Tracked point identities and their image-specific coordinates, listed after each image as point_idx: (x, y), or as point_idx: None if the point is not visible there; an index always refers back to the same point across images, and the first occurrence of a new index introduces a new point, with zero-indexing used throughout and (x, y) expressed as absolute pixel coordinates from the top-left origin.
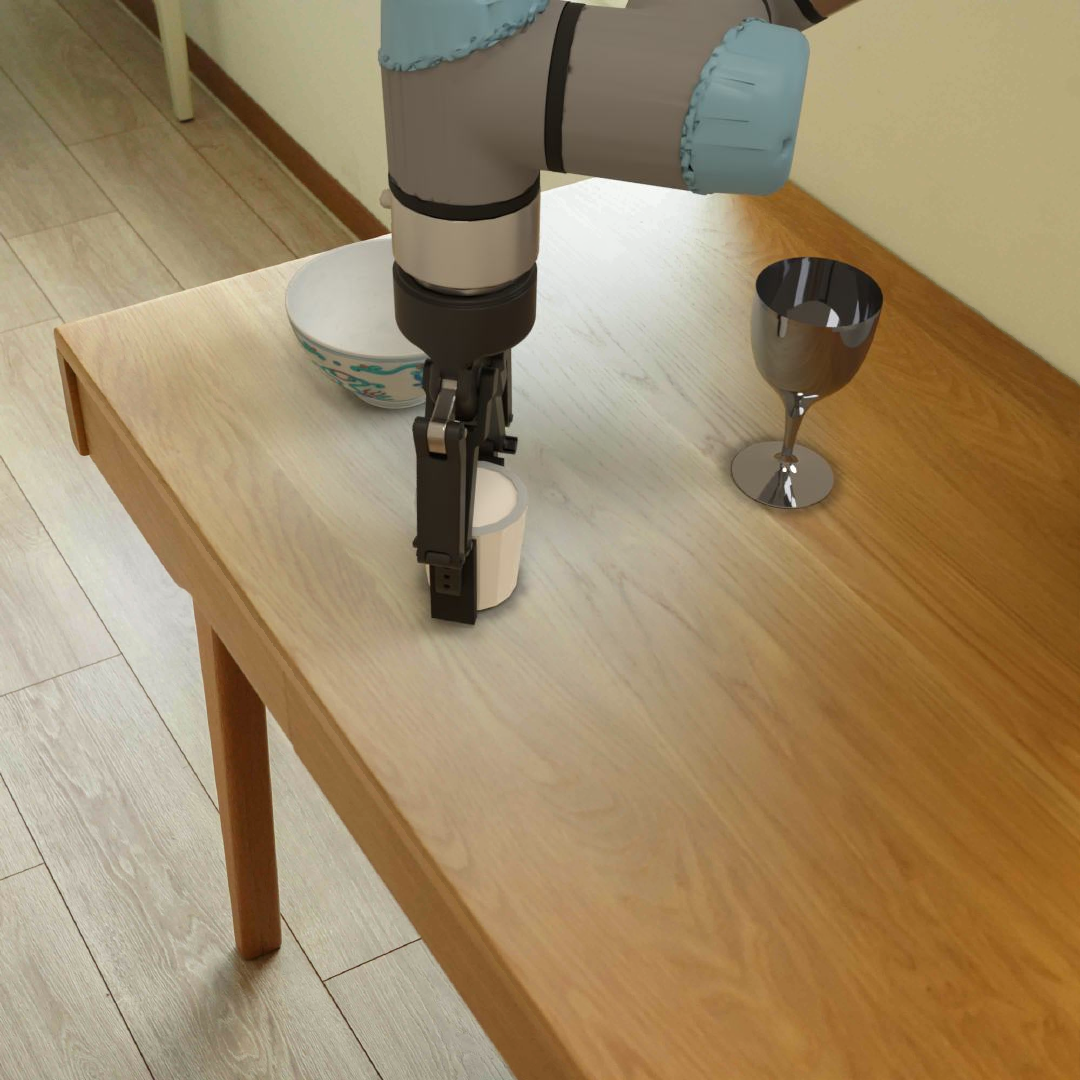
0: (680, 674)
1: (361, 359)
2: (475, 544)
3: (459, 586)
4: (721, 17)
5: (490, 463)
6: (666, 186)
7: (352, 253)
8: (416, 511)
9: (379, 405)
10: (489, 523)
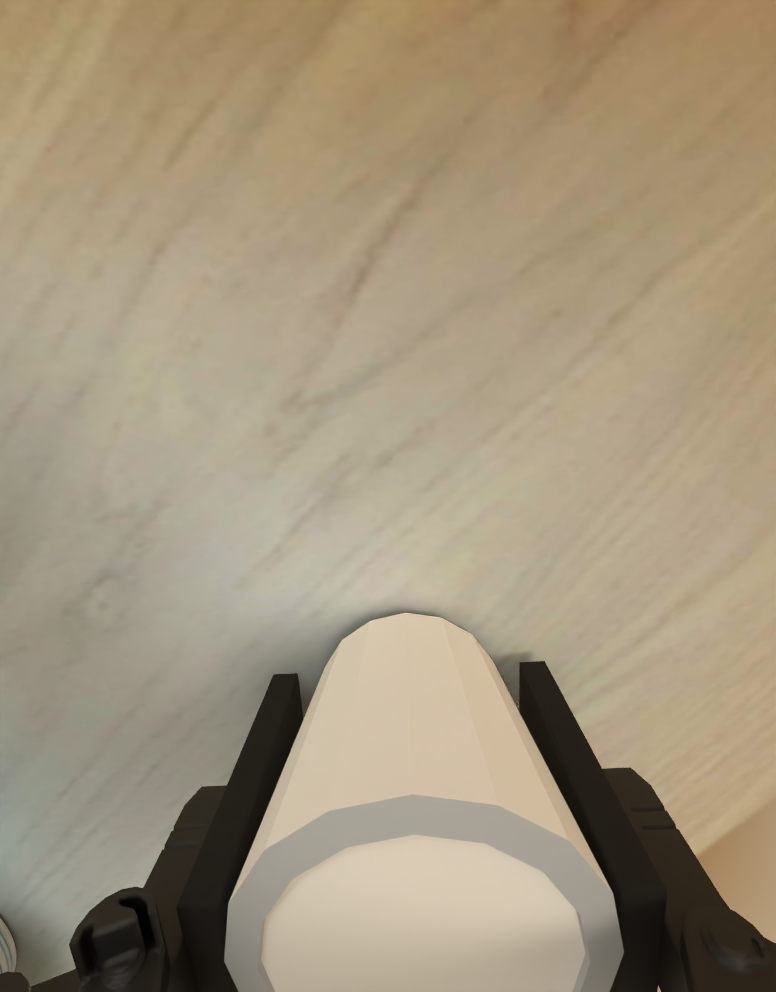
0: (568, 193)
1: None
2: (634, 883)
3: (651, 798)
4: None
5: (228, 944)
6: None
7: None
8: None
9: (13, 953)
10: (543, 884)
